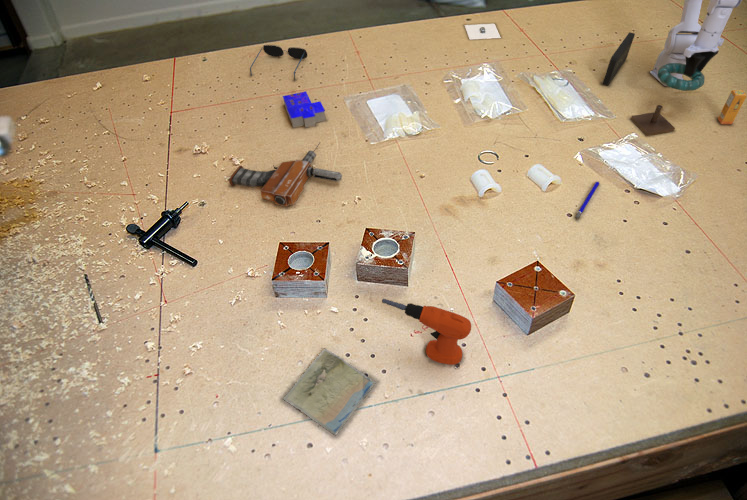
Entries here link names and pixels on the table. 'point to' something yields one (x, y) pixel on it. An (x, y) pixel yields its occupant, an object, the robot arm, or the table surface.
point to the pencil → (587, 200)
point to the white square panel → (482, 31)
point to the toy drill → (439, 330)
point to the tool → (283, 179)
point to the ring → (679, 83)
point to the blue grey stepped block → (303, 110)
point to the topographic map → (329, 391)
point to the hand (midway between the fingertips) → (692, 73)
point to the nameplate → (618, 58)
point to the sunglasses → (278, 52)
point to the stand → (652, 122)
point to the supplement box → (732, 106)
